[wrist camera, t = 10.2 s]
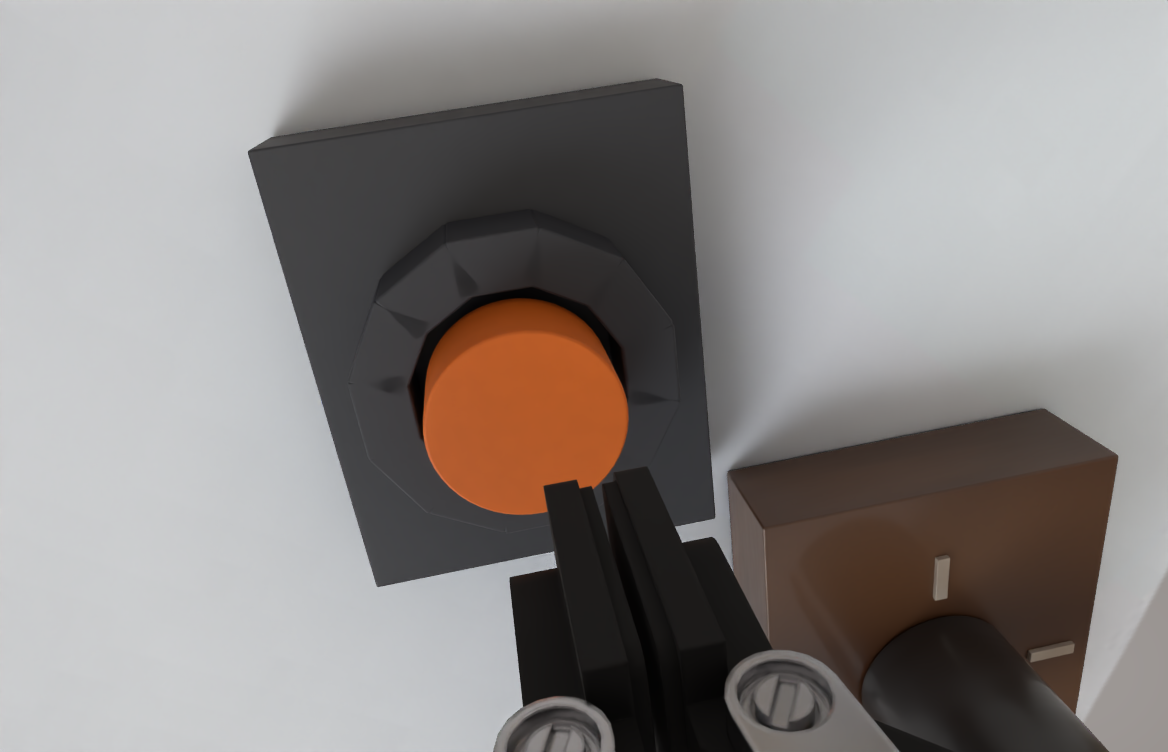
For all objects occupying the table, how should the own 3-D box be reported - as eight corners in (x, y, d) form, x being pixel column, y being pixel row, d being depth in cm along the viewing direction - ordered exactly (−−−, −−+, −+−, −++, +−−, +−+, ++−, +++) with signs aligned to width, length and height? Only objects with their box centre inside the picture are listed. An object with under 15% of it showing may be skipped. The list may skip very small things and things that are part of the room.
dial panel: (1007, 719, 30) (1067, 793, 27) (746, 780, 29) (780, 863, 26) (1045, 407, 24) (1124, 458, 21) (726, 470, 23) (765, 531, 20)
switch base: (693, 477, 23) (738, 559, 20) (383, 538, 22) (370, 636, 19) (658, 78, 19) (708, 89, 15) (269, 137, 18) (223, 164, 14)
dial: (1014, 600, 23) (1164, 751, 18) (999, 717, 25) (1131, 882, 20) (862, 632, 23) (974, 795, 18) (858, 749, 24) (958, 924, 20)
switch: (620, 447, 18) (638, 494, 16) (446, 481, 18) (446, 533, 16) (598, 281, 17) (617, 313, 15) (406, 315, 16) (401, 351, 14)
